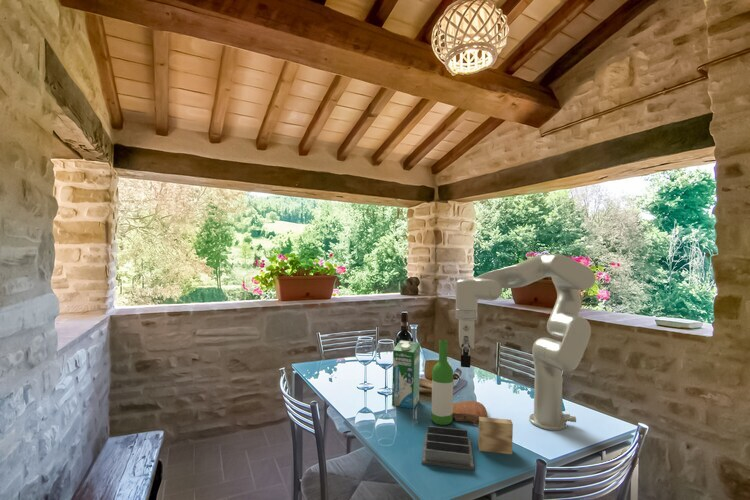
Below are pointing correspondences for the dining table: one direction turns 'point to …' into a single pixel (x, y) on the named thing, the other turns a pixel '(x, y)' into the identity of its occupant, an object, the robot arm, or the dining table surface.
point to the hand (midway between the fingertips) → (465, 363)
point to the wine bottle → (442, 388)
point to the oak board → (495, 435)
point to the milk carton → (406, 374)
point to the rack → (447, 448)
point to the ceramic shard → (468, 411)
